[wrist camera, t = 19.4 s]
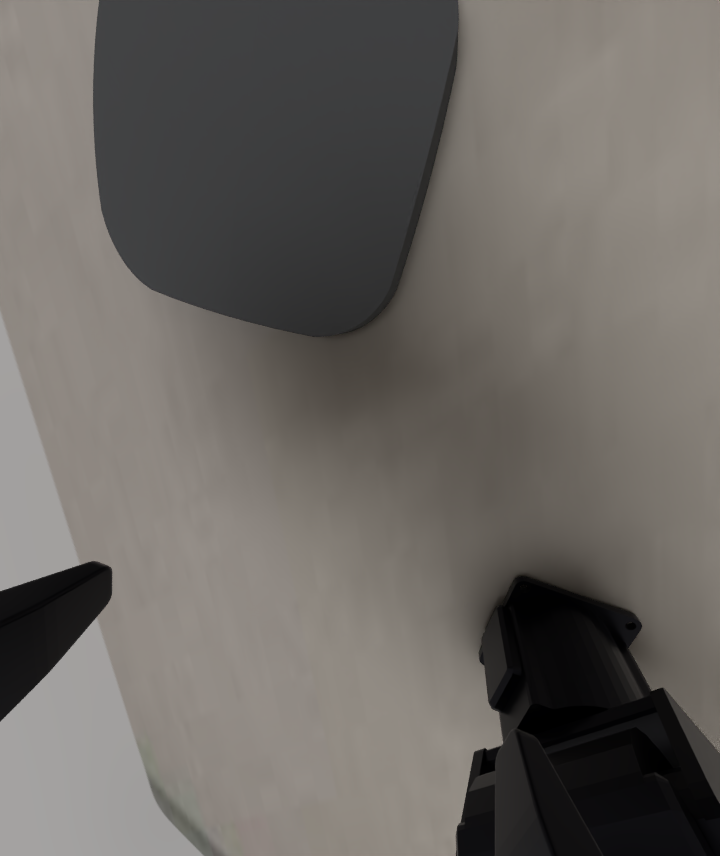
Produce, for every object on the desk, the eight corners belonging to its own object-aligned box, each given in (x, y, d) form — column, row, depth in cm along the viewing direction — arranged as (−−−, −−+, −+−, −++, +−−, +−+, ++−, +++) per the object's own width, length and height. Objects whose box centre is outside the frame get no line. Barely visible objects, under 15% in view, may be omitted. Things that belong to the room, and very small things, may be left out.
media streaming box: (383, 353, 19) (372, 359, 16) (135, 281, 21) (87, 276, 18) (486, -26, 14) (496, -111, 11) (149, -75, 16) (85, -160, 13)
